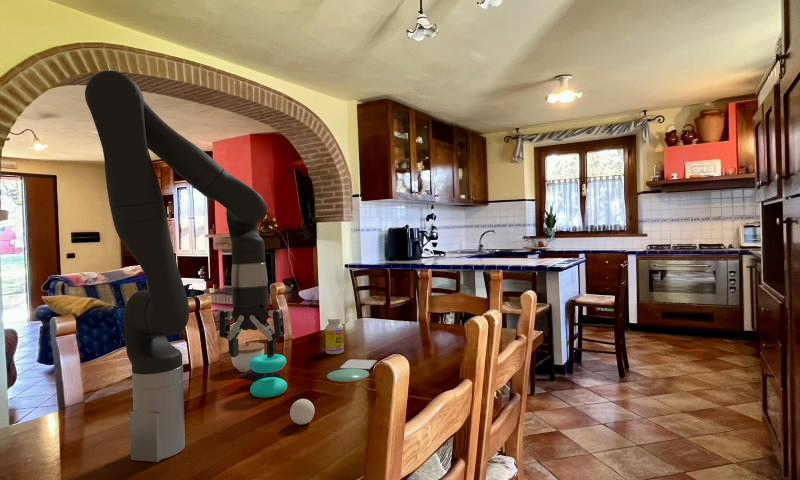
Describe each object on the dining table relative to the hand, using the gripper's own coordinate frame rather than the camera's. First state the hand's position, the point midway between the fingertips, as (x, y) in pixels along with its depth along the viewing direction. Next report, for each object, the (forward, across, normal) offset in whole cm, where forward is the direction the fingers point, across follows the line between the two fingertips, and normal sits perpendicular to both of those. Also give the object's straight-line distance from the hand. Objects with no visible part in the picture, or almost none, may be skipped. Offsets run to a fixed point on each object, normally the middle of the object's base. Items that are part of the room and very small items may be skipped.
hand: (252, 356), depth 102 cm
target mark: (+18, +9, +43) cm, 48 cm away
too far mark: (+18, +9, +55) cm, 59 cm away
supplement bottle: (+18, -4, +70) cm, 73 cm away
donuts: (+18, -9, +26) cm, 32 cm away
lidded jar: (+18, -27, +47) cm, 57 cm away
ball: (+14, +8, +6) cm, 18 cm away
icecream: (+18, -15, +33) cm, 40 cm away
